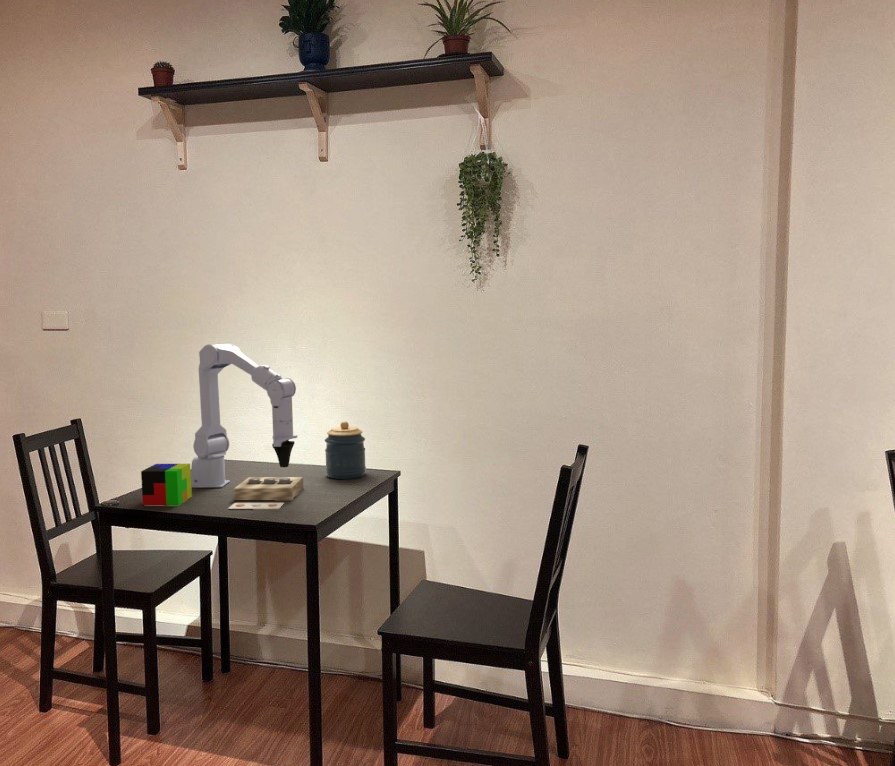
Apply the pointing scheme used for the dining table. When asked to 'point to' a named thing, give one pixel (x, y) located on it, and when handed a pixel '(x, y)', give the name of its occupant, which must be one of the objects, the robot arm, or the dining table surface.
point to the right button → (284, 481)
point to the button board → (268, 489)
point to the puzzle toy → (166, 484)
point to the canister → (345, 452)
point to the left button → (254, 481)
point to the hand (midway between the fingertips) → (284, 466)
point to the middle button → (269, 481)
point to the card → (256, 506)
